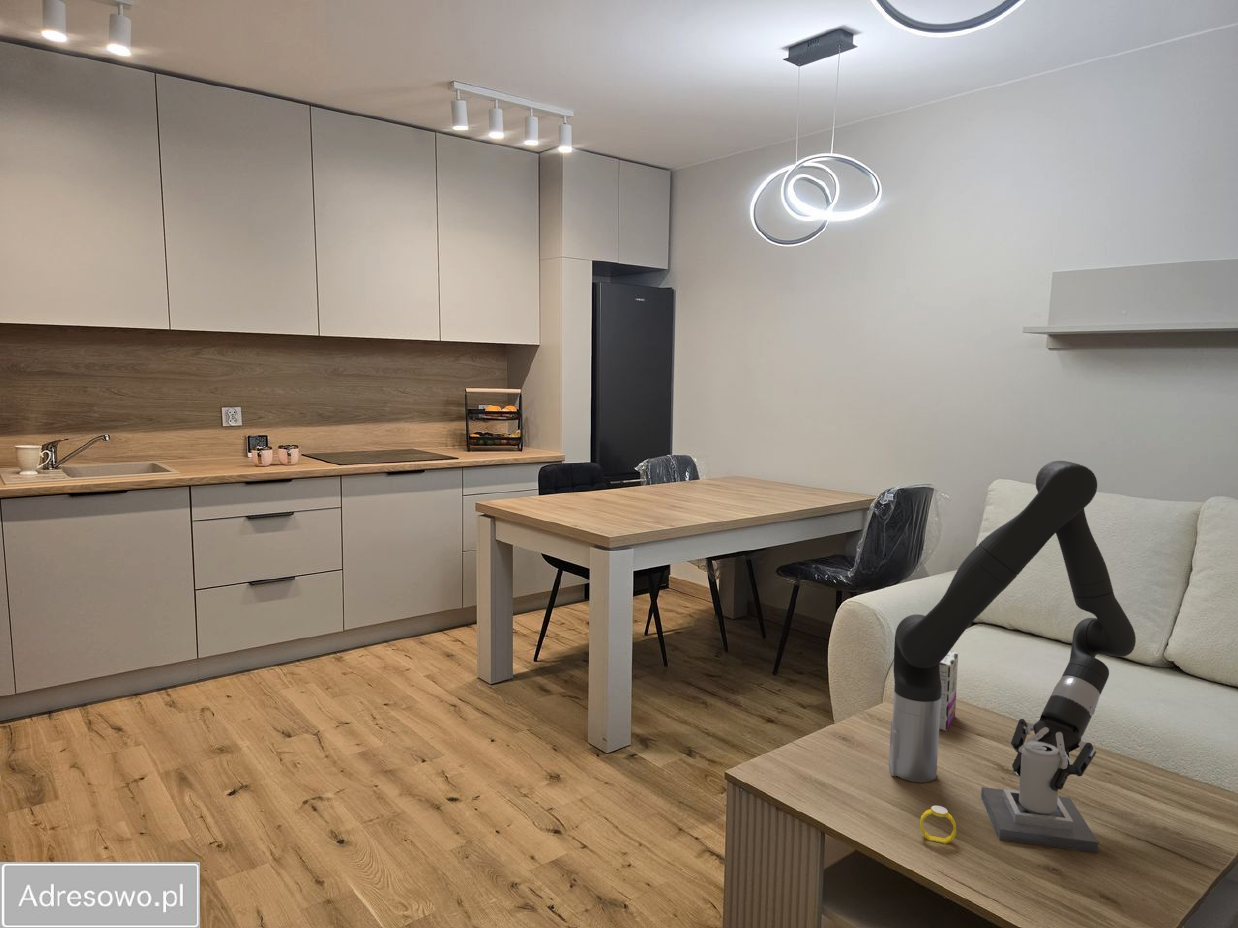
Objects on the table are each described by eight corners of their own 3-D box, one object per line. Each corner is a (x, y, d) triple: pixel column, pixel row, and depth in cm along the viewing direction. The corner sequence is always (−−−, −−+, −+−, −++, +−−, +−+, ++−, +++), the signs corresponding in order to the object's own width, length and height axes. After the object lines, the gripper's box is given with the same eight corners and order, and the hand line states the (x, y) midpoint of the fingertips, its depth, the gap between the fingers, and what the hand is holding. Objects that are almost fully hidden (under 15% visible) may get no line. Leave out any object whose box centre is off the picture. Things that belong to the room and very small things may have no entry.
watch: (953, 841, 145) (958, 810, 144) (954, 849, 143) (958, 817, 142) (918, 831, 147) (922, 801, 146) (918, 839, 145) (922, 808, 144)
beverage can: (1061, 819, 147) (1066, 756, 146) (1023, 815, 149) (1027, 752, 147) (1050, 801, 154) (1054, 741, 152) (1014, 797, 155) (1018, 737, 154)
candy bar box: (934, 711, 203) (938, 648, 202) (955, 716, 201) (959, 652, 199) (925, 726, 194) (928, 660, 192) (947, 732, 191) (951, 664, 190)
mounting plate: (999, 839, 145) (1000, 820, 145) (980, 796, 161) (982, 779, 160) (1097, 853, 142) (1099, 833, 141) (1069, 807, 157) (1070, 789, 157)
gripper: (1027, 683, 159) (990, 755, 154) (1105, 708, 147) (1068, 787, 142) (1039, 703, 163) (1004, 775, 157) (1116, 729, 151) (1080, 807, 145)
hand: (1034, 780), depth 150 cm, fingers closed on beverage can, 6 cm apart
